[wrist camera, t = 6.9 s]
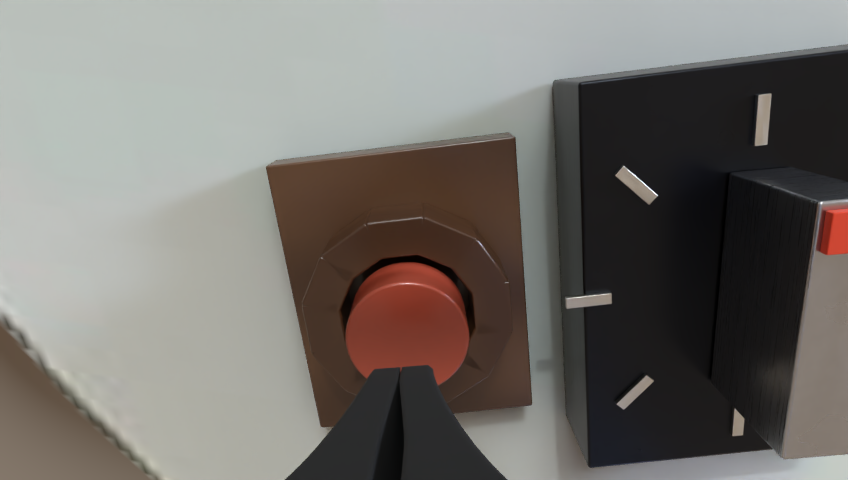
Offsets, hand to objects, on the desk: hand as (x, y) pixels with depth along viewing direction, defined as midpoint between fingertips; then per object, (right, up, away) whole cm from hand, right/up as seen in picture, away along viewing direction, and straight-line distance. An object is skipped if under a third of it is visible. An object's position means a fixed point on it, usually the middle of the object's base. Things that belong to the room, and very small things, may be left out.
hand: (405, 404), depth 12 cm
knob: (+10, +3, +4) cm, 11 cm away
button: (0, +1, +5) cm, 5 cm away
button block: (0, +2, +7) cm, 7 cm away
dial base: (+10, +4, +7) cm, 13 cm away
